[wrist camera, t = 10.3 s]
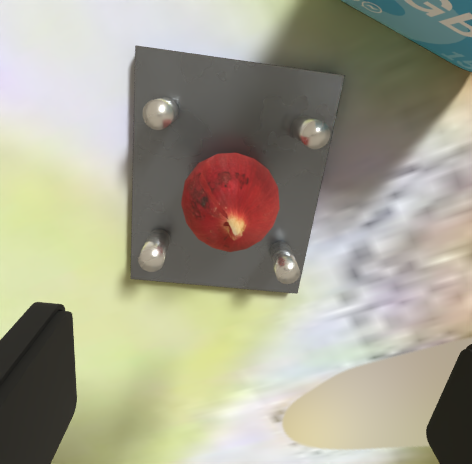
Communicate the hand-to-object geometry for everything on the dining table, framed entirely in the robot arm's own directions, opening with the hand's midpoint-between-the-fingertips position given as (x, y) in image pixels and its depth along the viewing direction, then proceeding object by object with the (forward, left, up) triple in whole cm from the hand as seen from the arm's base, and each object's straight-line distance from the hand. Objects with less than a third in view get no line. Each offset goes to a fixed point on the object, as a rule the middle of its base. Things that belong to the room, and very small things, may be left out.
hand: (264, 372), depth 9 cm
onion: (0, 0, -18) cm, 18 cm away
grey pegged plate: (+1, 0, -19) cm, 19 cm away
